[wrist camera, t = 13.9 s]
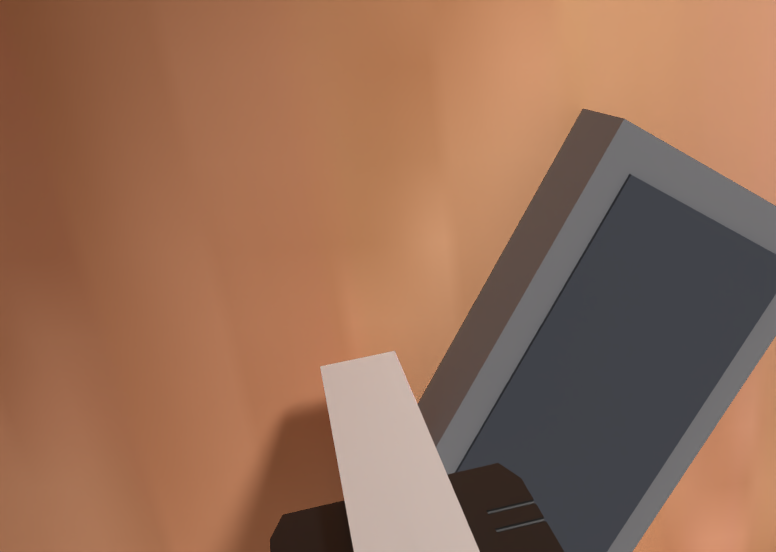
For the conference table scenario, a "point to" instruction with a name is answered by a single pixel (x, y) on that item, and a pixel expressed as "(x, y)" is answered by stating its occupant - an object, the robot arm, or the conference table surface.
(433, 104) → the conference table surface
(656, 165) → the phone
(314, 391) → the conference table surface
